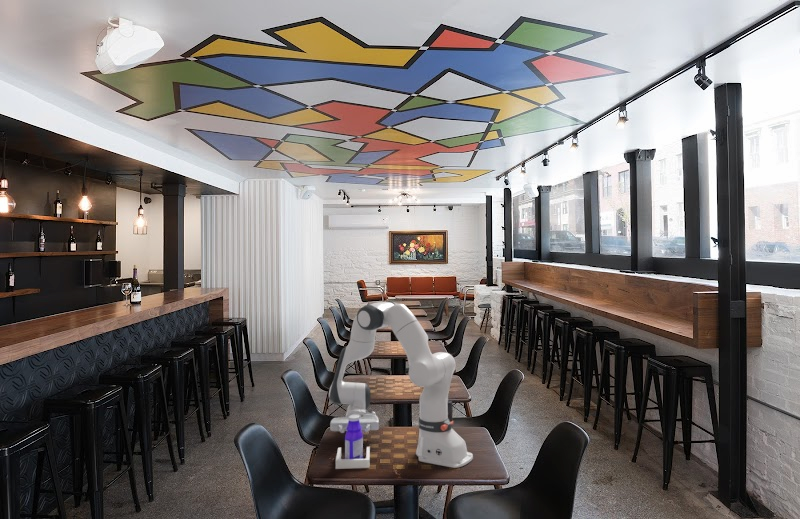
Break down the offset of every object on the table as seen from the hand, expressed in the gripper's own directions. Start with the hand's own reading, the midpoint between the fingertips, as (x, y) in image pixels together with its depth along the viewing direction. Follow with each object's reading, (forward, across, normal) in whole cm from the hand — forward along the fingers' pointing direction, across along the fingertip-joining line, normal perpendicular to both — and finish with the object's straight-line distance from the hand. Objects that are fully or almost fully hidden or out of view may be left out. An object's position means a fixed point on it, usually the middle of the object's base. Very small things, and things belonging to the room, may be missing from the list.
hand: (354, 430), depth 193 cm
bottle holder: (+10, 0, +8) cm, 13 cm away
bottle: (+11, 0, +8) cm, 14 cm away
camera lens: (-15, +38, +8) cm, 42 cm away
